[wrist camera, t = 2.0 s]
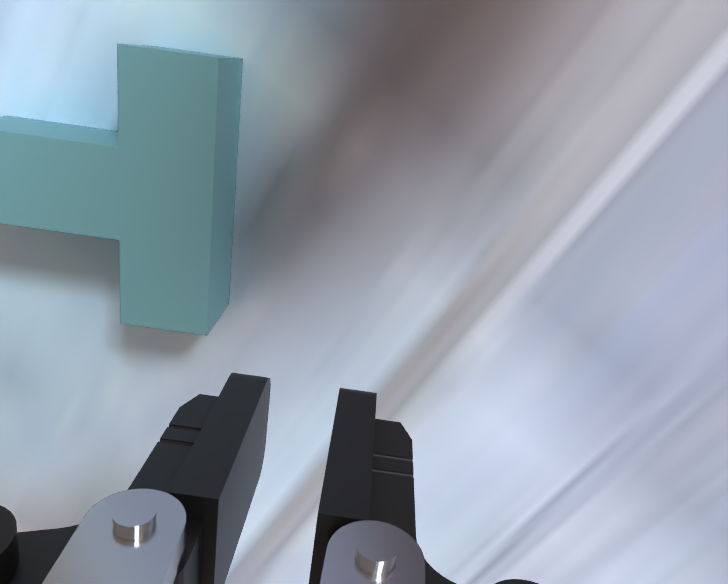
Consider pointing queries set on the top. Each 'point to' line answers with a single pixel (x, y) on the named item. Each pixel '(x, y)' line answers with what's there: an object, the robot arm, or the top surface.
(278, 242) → the top surface
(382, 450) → the robot arm
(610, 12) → the top surface
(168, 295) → the teal T-block
